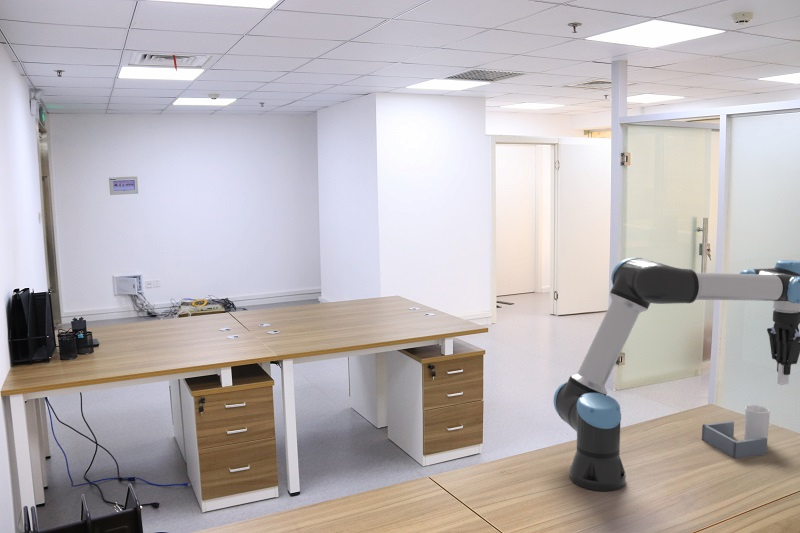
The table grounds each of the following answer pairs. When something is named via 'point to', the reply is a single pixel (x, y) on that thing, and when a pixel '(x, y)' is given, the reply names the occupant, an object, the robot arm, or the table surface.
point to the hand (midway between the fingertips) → (782, 383)
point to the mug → (756, 422)
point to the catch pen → (732, 441)
